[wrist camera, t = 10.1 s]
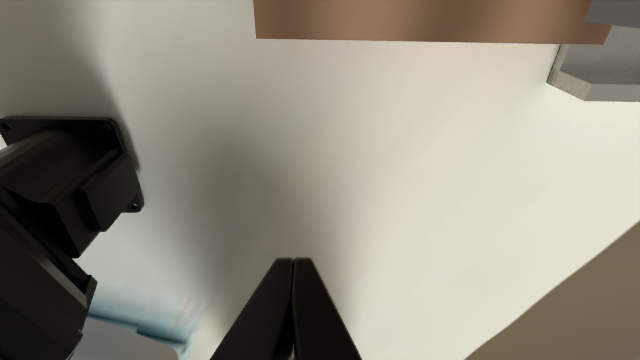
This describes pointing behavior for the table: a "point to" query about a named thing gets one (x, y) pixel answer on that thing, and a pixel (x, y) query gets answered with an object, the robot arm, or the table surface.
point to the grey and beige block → (614, 13)
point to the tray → (601, 68)
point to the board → (430, 21)
